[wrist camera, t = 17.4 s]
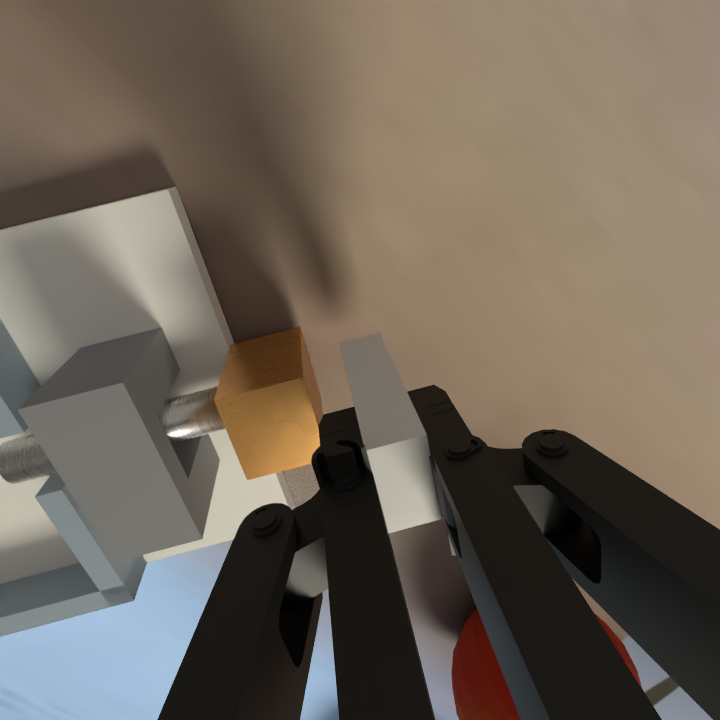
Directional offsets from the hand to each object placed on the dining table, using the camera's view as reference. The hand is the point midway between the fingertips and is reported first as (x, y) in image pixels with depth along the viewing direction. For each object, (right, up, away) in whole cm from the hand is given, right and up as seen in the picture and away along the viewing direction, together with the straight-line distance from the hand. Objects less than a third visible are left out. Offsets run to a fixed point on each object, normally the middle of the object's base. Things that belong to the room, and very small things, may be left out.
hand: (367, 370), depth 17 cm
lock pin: (-8, -1, +2) cm, 8 cm away
